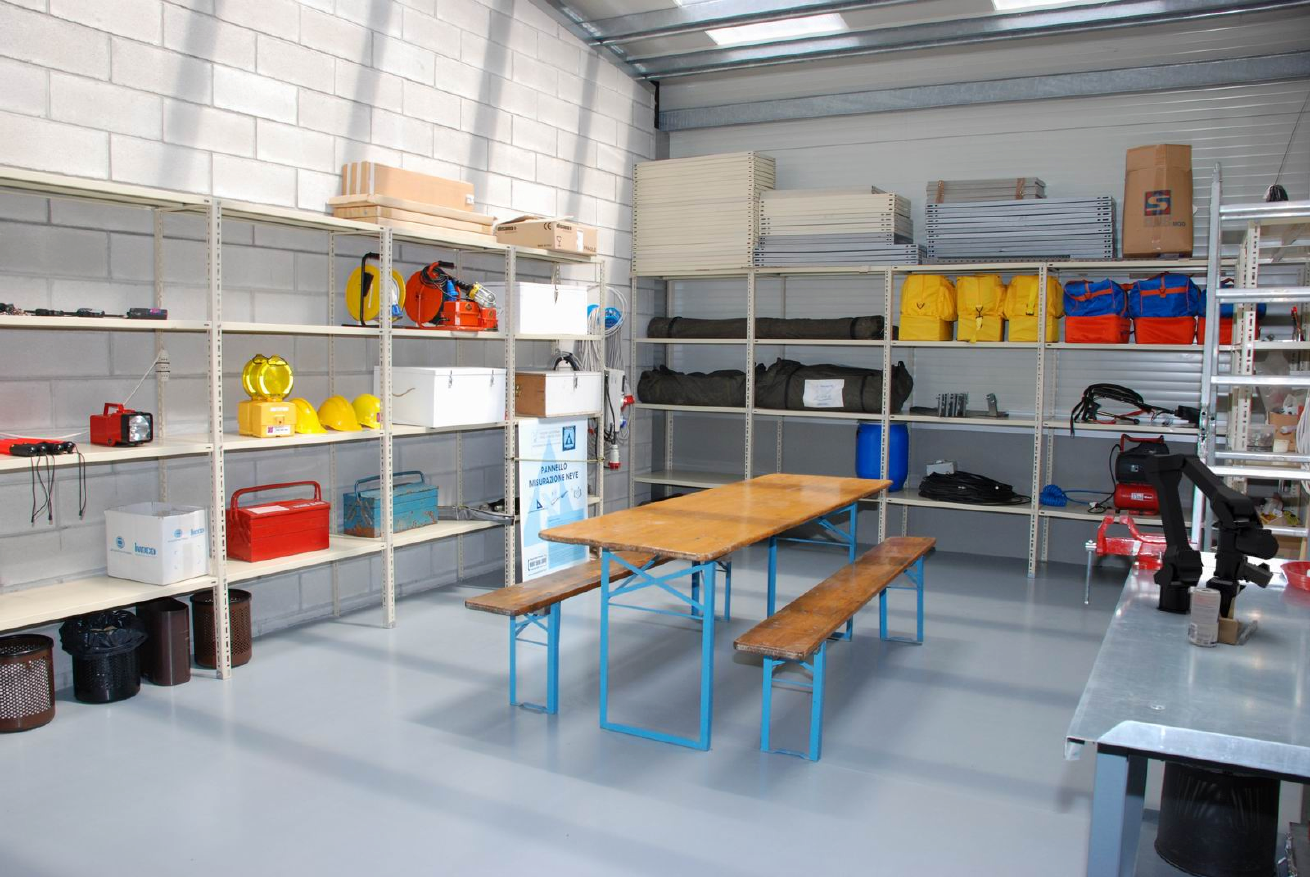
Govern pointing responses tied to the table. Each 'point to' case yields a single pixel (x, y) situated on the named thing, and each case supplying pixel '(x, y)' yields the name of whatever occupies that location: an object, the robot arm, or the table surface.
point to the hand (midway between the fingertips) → (1225, 616)
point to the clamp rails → (1246, 633)
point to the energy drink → (1205, 617)
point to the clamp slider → (1228, 627)
